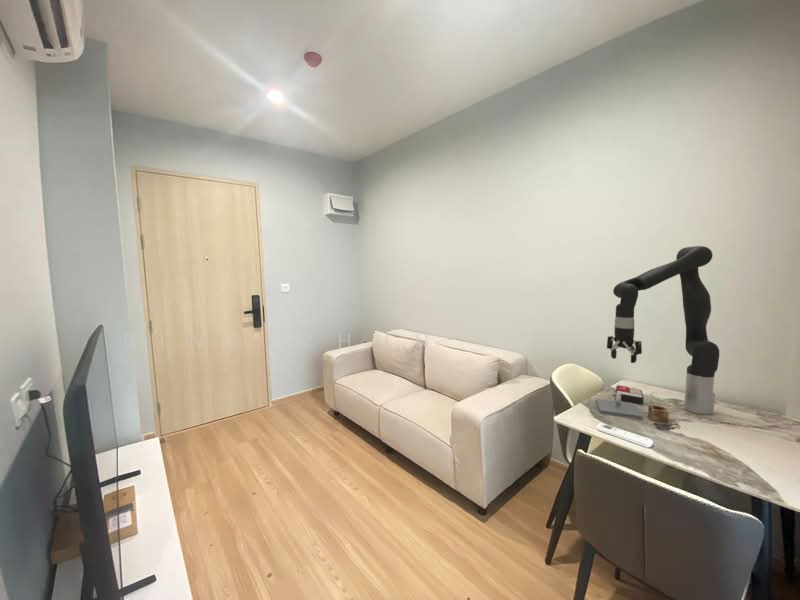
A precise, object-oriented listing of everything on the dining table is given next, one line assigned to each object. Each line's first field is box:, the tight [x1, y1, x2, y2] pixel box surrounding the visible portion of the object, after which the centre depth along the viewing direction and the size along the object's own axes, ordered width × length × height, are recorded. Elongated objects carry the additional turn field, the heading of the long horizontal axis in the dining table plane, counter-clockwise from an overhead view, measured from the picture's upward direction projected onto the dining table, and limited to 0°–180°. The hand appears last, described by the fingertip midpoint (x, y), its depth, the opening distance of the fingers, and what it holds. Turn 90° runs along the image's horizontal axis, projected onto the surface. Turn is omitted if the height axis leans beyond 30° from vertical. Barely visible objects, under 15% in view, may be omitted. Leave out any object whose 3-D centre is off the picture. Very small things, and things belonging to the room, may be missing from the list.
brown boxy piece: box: [647, 404, 670, 424], centre depth 140 cm, size 6×6×5 cm
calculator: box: [615, 384, 644, 406], centre depth 163 cm, size 11×4×15 cm
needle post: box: [615, 392, 622, 406], centre depth 149 cm, size 2×2×6 cm
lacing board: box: [595, 398, 644, 420], centre depth 150 cm, size 16×14×2 cm
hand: (623, 360), depth 150 cm, fingers open, 8 cm apart
